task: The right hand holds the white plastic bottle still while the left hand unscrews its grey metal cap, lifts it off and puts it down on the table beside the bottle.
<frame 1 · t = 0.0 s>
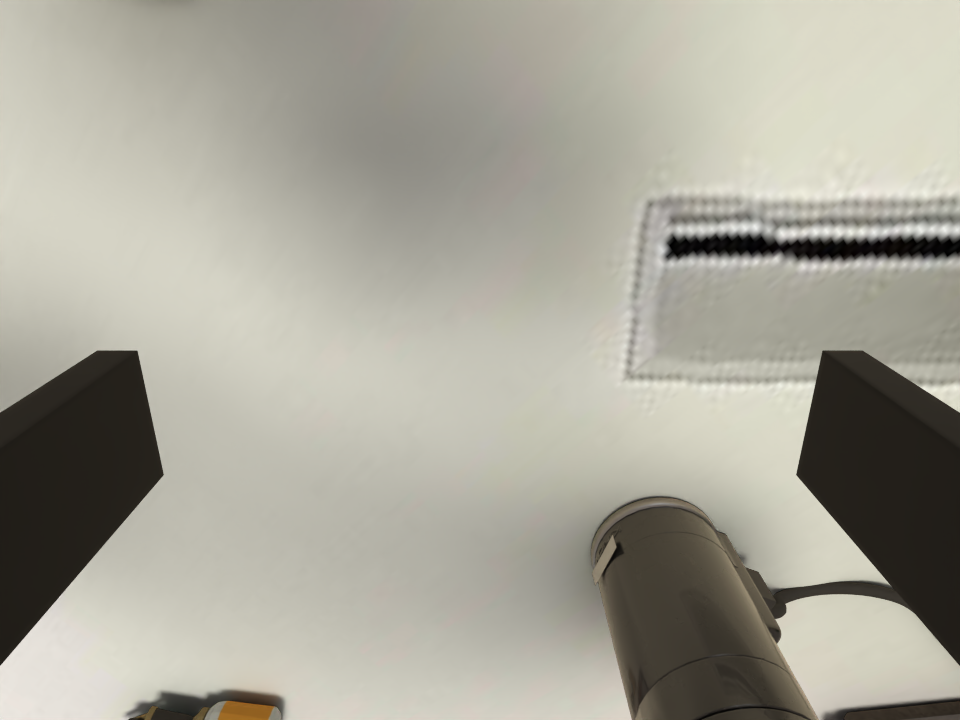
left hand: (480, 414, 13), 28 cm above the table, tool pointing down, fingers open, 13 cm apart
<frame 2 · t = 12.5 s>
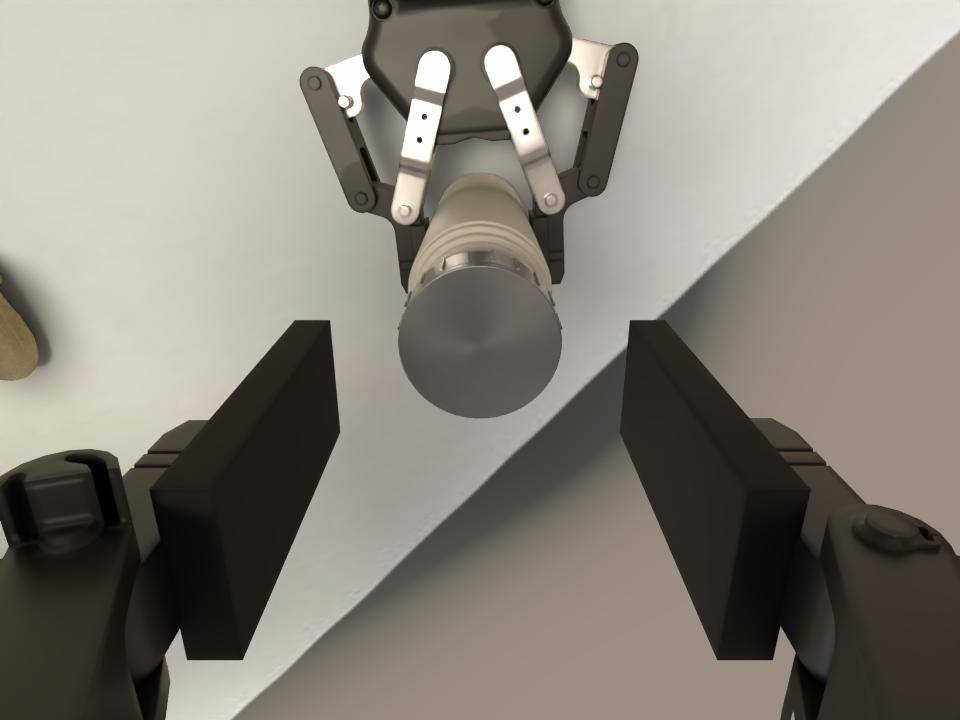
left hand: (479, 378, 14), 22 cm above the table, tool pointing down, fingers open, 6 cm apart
right hand: (484, 295, 30), fingers closed on bottle, 4 cm apart
cap: (479, 341, 16), point 20 cm above the table, screwed on, not yet turned
bottle: (480, 217, 35), on the table, touching right hand
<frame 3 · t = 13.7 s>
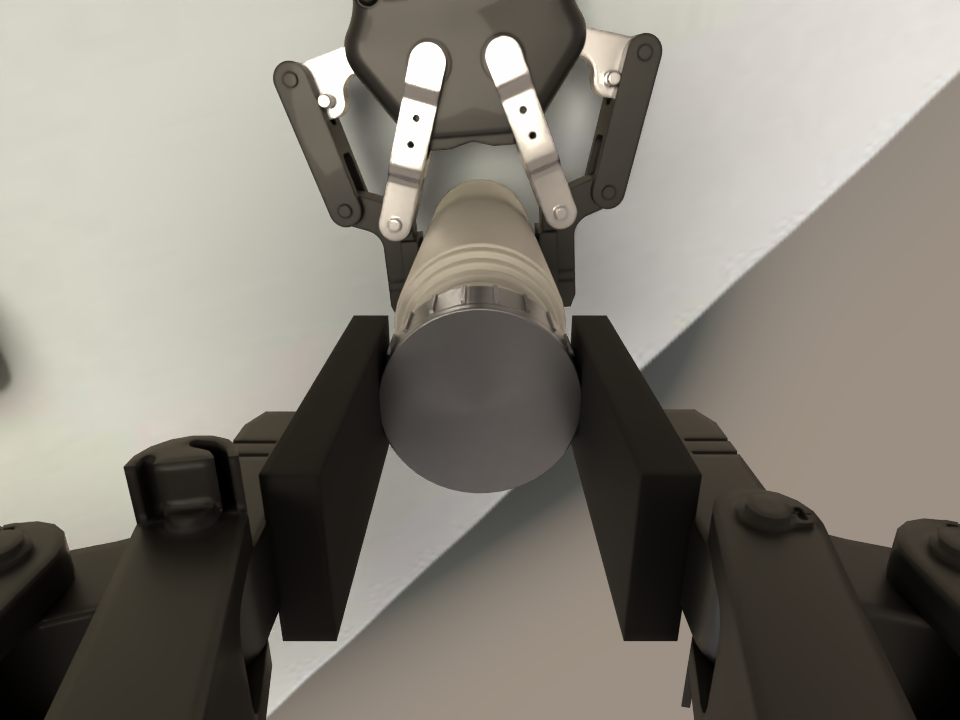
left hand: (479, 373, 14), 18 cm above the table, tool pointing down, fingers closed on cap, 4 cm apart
right hand: (485, 318, 27), fingers closed on bottle, 4 cm apart
cap: (480, 399, 13), point 20 cm above the table, screwed on, not yet turned, touching left hand
bottle: (480, 228, 31), on the table, touching right hand
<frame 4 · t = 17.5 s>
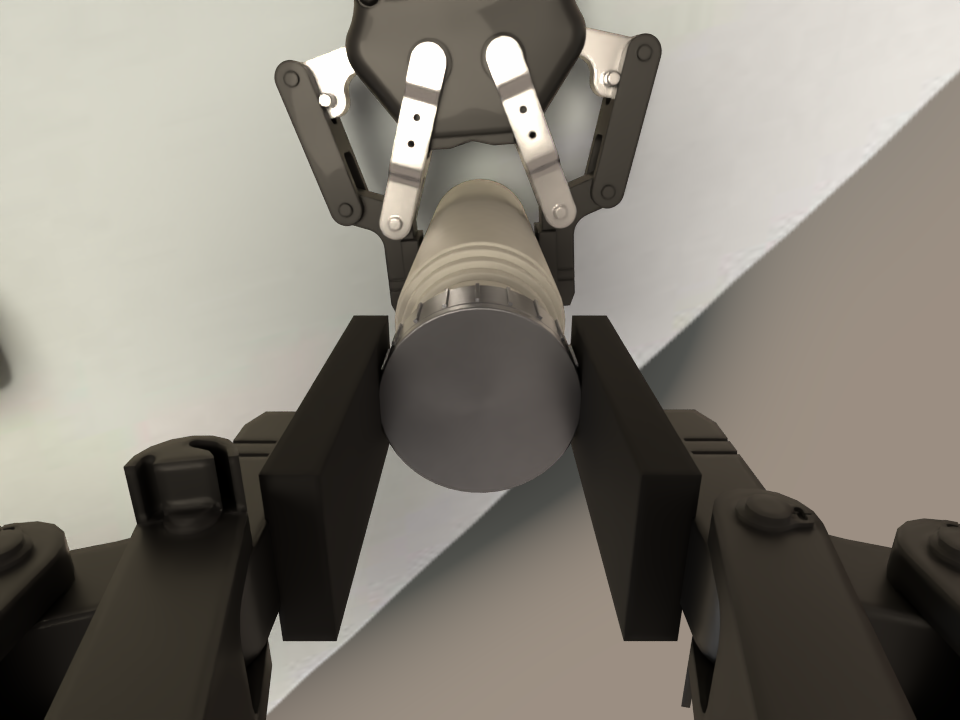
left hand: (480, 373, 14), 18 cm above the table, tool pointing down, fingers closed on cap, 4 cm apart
right hand: (485, 317, 27), fingers closed on bottle, 4 cm apart
cap: (480, 399, 13), point 20 cm above the table, turned 118° so far, risen 0.1 cm, still on its thread, touching left hand
bottle: (479, 227, 32), on the table, touching right hand
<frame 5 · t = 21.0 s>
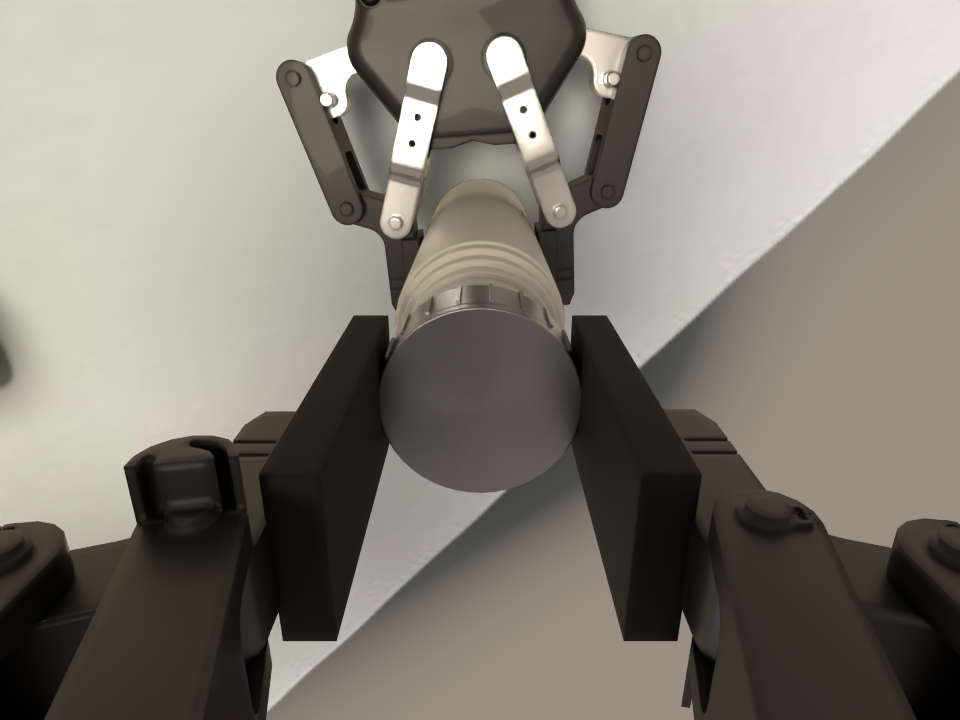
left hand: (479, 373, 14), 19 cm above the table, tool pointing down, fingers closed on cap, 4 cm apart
right hand: (484, 316, 27), fingers closed on bottle, 4 cm apart
cap: (480, 399, 13), point 20 cm above the table, turned 237° so far, risen 0.3 cm, still on its thread, touching left hand
bottle: (480, 227, 32), on the table, touching right hand
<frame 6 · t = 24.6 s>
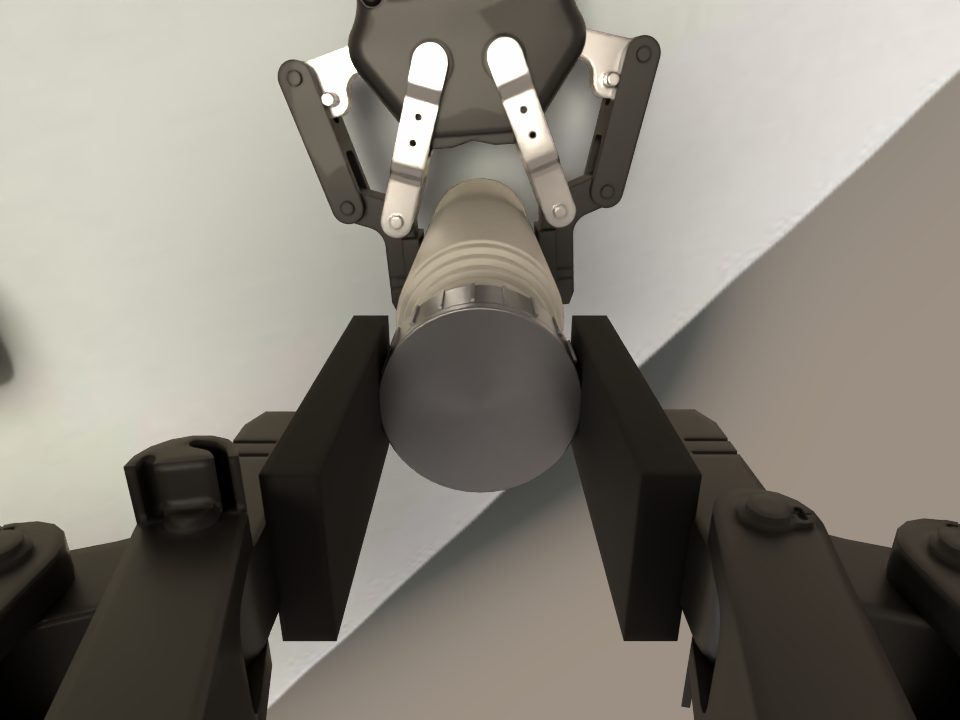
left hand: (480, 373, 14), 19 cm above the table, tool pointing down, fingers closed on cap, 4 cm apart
right hand: (484, 315, 27), fingers closed on bottle, 4 cm apart
cap: (480, 399, 13), point 20 cm above the table, turned 355° so far, risen 0.4 cm, still on its thread, touching left hand
bottle: (480, 226, 32), on the table, touching right hand
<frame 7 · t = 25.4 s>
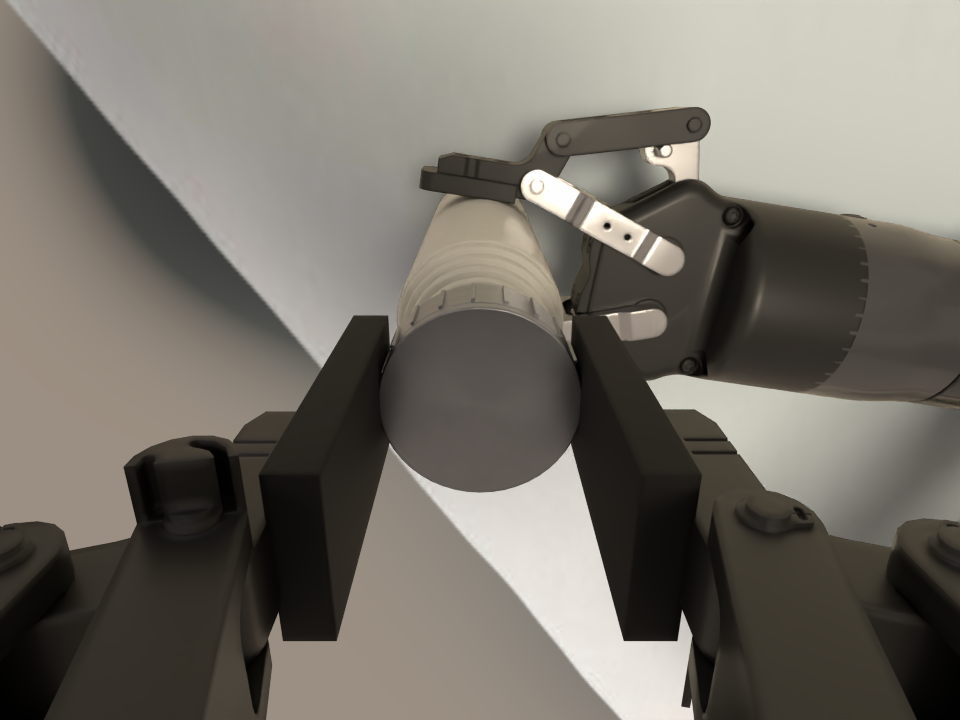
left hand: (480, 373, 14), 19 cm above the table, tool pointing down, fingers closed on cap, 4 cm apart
right hand: (415, 244, 26), fingers closed on bottle, 4 cm apart
cap: (480, 399, 13), point 20 cm above the table, off its thread, touching left hand
bottle: (480, 226, 32), on the table, touching right hand
when the left hand's fingers open (1 cm above the table, at t = 31.7 s): cap drops 1 cm, point 1 cm above the table.
when the right hand's fingers open (6 cm above the table, at t = 33.0 s): bottle stays where it is, on the table.
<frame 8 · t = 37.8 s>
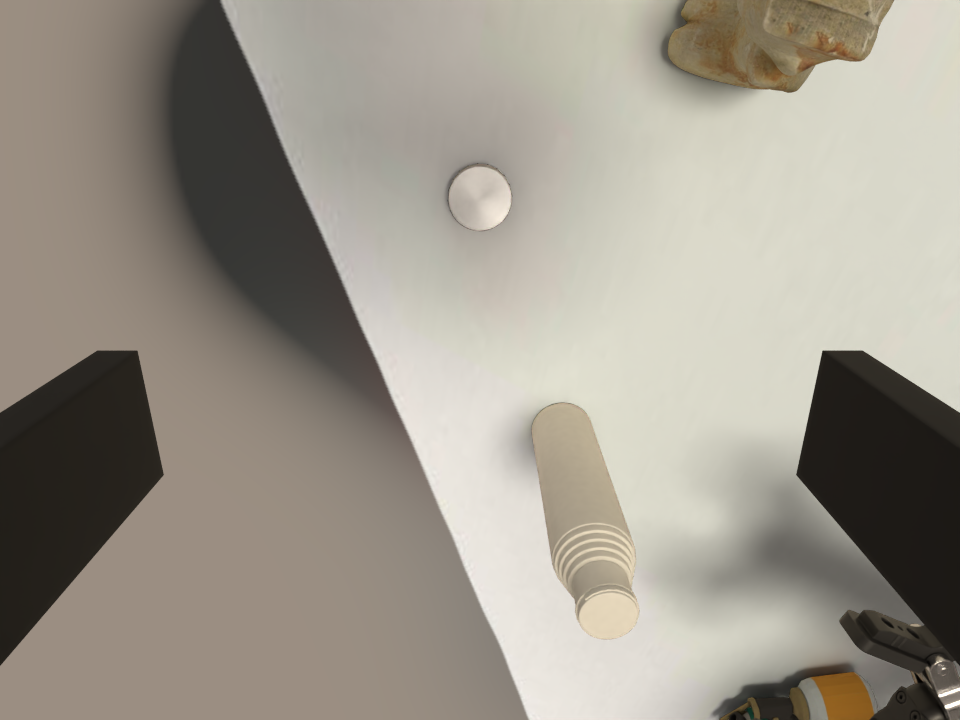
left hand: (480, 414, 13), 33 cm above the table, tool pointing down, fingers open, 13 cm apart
cap: (479, 198, 42), point 1 cm above the table, off its thread
bottle: (561, 429, 50), on the table
sculpture: (722, 44, 40), on the table
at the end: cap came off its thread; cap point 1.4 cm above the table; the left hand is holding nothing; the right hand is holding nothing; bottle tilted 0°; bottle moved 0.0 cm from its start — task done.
